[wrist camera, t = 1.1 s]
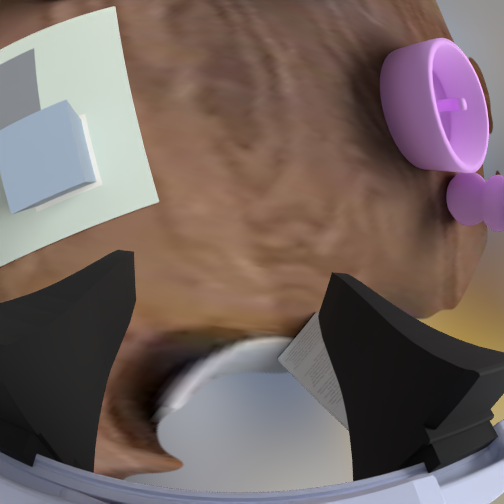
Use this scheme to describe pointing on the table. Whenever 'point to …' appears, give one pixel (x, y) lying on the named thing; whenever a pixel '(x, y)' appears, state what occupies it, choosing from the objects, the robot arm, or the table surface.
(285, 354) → the skincare box
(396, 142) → the container set
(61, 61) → the mat
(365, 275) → the table surface
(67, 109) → the blue-grey rectangular block
